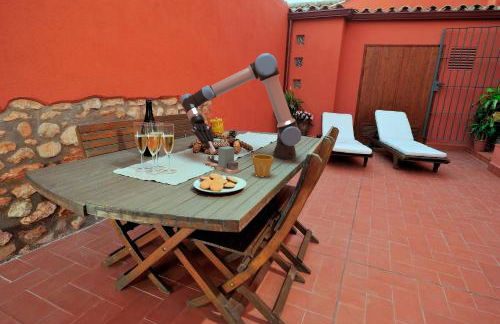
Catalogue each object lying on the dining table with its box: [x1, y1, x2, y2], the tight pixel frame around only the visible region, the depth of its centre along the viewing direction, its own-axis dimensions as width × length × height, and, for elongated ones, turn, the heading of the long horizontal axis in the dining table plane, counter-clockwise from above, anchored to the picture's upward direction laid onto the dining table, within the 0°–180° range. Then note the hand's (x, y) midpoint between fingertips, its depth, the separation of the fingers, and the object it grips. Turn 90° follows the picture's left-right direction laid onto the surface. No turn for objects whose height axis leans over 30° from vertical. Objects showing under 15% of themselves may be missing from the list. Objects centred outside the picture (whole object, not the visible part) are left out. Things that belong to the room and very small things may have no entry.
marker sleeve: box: [217, 145, 235, 168], centre depth 147 cm, size 5×7×10 cm
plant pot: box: [252, 153, 274, 177], centre depth 141 cm, size 10×10×10 cm
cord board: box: [202, 154, 242, 175], centre depth 151 cm, size 22×8×5 cm, turn 46°
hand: (213, 152), depth 154 cm, fingers closed
